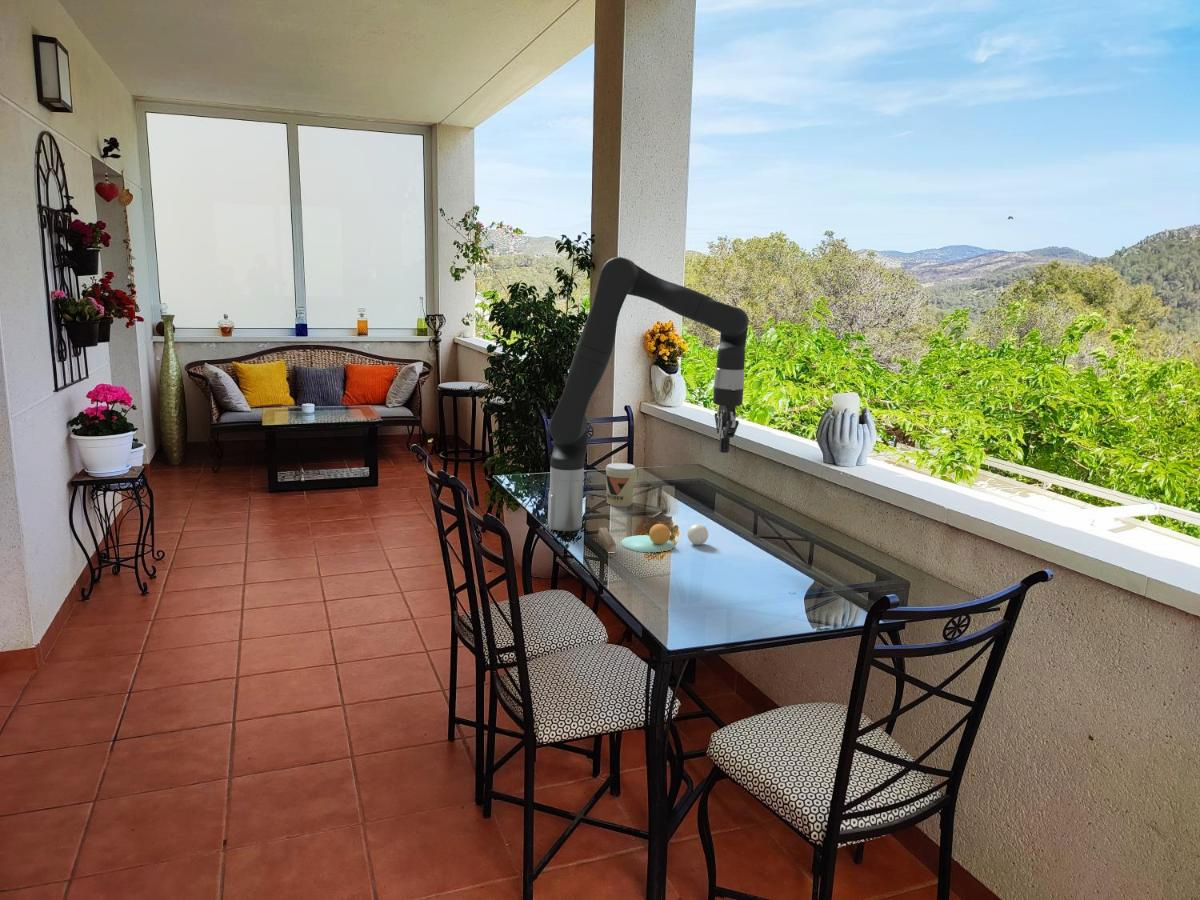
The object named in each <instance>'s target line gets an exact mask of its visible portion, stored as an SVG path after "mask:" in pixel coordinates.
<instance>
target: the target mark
mask: <svg viewBox="0 0 1200 900" xmlns="http://www.w3.org/2000/svg"><path fill="white" fill-rule="evenodd" d="M620 544H621V546H622V547H623V548H625V549H627V548H628V549H627V550H630V549H631V550H630V551H633V550H634V551H633V552H637V551H639V552H638V553H643V552H648V553H647V554H651V553H650V552H653V553H652V554H657V553H656V552H661V551H662V550H660V549H663V550H665V551H667V550H668V549H669V550H670V551H672V550H673V549H674V548H675V543H674V542H673V541H671V539H669V540H668V541H667V542H666V543H665V544H662V545H658V544H655V543H653V542H652V541H651V539H650V537H649V535H643V534H641V535H632V536H627V537H625V538H623V539H622V540H621V543H620ZM665 547H666V548H665ZM672 548H673V549H672ZM671 549H672V550H671ZM654 552H655V553H654ZM667 552H668V551H667ZM662 553H664V552H663V551H662Z"/></svg>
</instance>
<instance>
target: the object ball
mask: <svg viewBox="0 0 1200 900" xmlns="http://www.w3.org/2000/svg"><path fill="white" fill-rule="evenodd" d="M648 533H649V537H650V539H651V541H652V542H653V543H655V544H658V545H662V544H665V543H666V542H667V541H668V540H670V538H671V531H670V529H669V527H668V526H667V525H665V524H663V523H656V524H654V525H652V527H650V528H649V532H648Z"/></svg>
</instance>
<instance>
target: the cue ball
mask: <svg viewBox="0 0 1200 900" xmlns="http://www.w3.org/2000/svg"><path fill="white" fill-rule="evenodd" d="M686 535H687V538H688V540H689V542H690V543H692V544H693V545H695V544H697V545H696V546H700V544H701V545H703V544H704V543H706V542H707V540H708V538H709V531H708V529H707V527H706V526H705V525H703V524H701V523H695V524H693V525H691V526H689V528H688V530H687V534H686Z"/></svg>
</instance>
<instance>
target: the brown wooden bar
mask: <svg viewBox="0 0 1200 900" xmlns="http://www.w3.org/2000/svg"><path fill="white" fill-rule="evenodd" d="M598 538H599V539H600V542H601V544H602V543H603V544H602V546H603V545H604V546H603V548H604V547H605V548H604V549H606V550H607V551H606V550H605V551H606V553H607V552H616V550H617V543H616V541H615V540H614V538H613V536H612V535H611V533H610V531H609V529H608V528H607V527H598Z"/></svg>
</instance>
